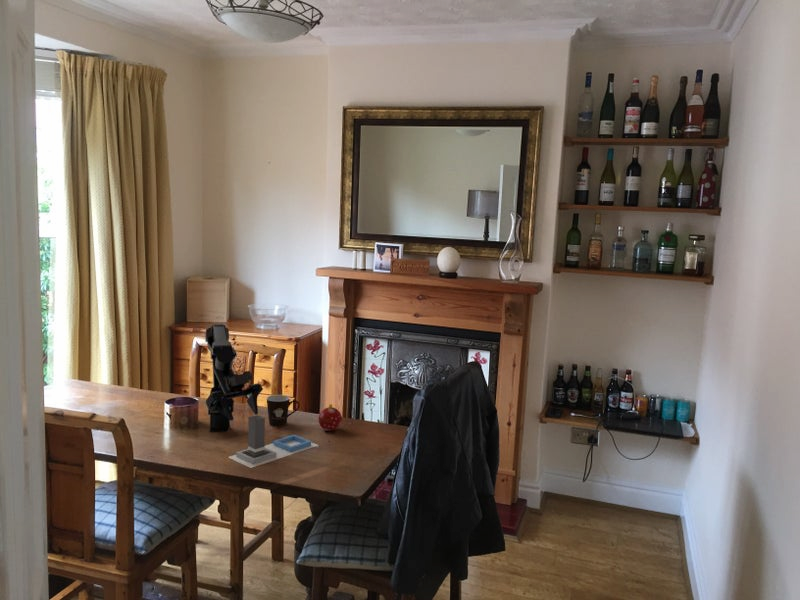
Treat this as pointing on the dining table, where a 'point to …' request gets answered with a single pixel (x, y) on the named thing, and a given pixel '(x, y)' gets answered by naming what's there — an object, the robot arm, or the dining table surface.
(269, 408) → the coffee mug
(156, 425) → the dining table surface
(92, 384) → the dining table surface
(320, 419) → the christmas ornament
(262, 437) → the plug
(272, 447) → the board
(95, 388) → the dining table surface
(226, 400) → the robot arm
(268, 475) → the dining table surface
